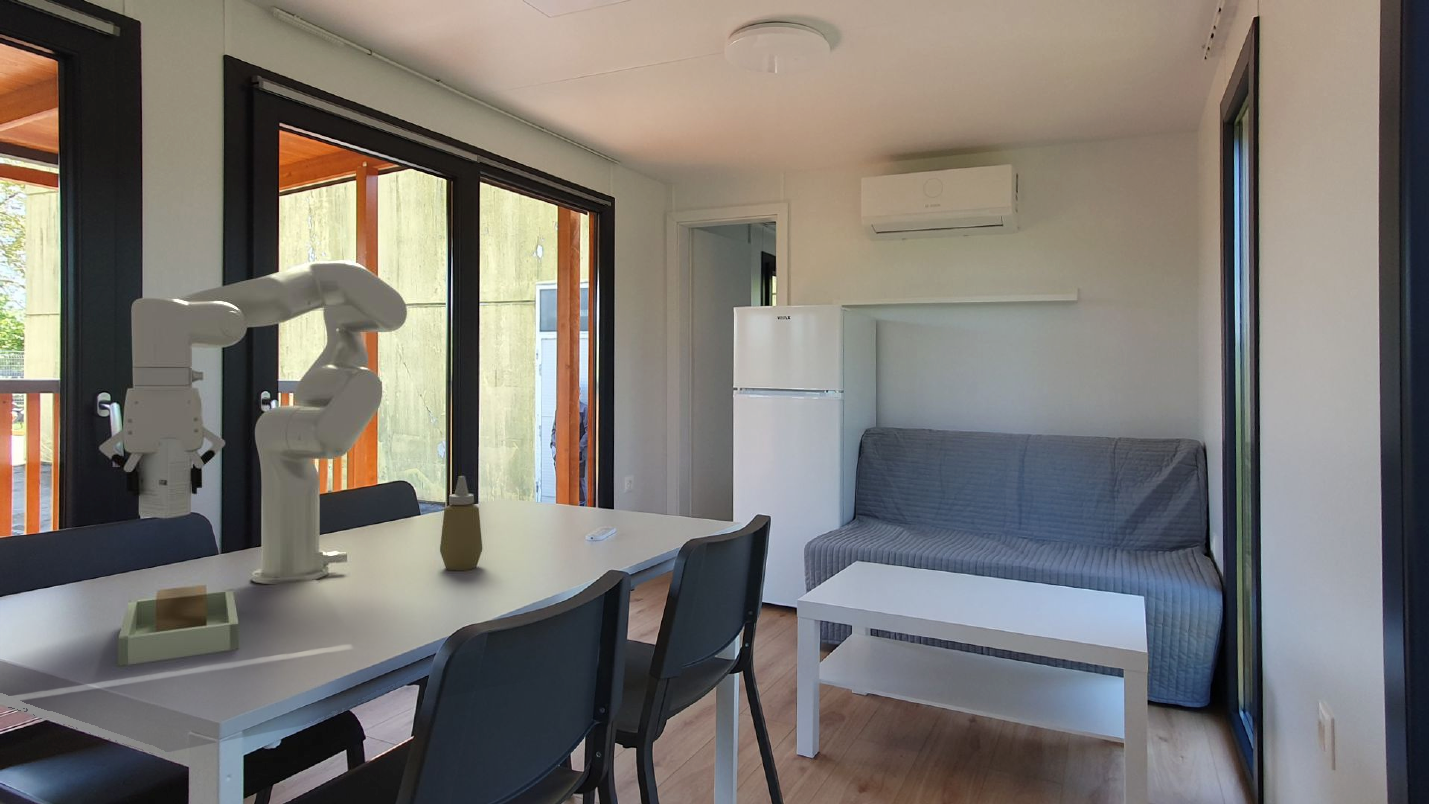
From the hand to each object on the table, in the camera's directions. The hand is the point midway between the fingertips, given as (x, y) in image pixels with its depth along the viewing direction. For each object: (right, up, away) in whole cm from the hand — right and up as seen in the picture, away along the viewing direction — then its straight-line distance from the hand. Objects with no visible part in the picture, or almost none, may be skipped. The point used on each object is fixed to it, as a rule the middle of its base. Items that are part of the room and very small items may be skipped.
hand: (165, 493), depth 124 cm
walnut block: (+7, -19, -7) cm, 21 cm away
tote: (+10, -19, -11) cm, 24 cm away
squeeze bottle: (+35, -19, +34) cm, 52 cm away
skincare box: (0, -4, 0) cm, 4 cm away
